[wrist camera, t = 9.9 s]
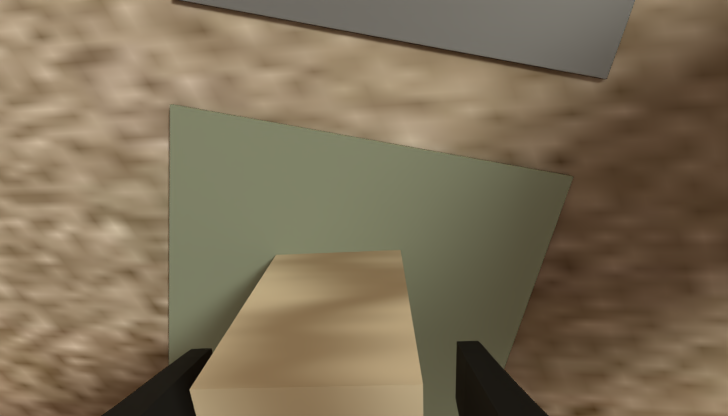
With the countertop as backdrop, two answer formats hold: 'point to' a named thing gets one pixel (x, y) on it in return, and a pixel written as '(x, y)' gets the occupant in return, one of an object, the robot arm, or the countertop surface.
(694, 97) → the countertop surface
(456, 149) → the countertop surface
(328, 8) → the tile
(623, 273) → the countertop surface
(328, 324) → the birch block
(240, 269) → the olive mat
